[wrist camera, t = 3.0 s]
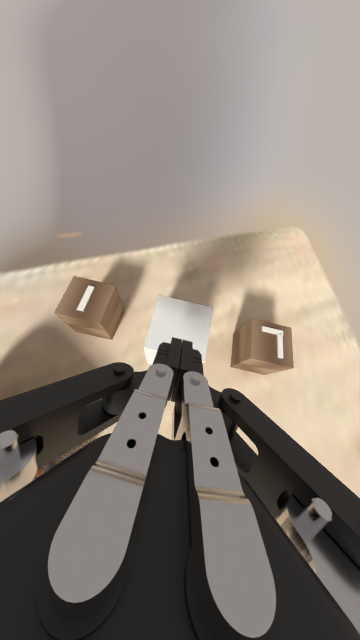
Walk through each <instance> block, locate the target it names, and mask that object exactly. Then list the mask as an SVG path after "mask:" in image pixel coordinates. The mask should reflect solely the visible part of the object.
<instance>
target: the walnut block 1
mask: <svg viewBox="0 0 360 640" xmlns="http://www.w3.org/2000/svg"><path fill="white" fill-rule="evenodd" d="M122 311H123V306H122V303H121V300H120V297H119V294H118V291H117V288H116V286H115V285H110V284H106V283H102V282H98V281H93V280H89V279H85V278H81V277H77V276H74V277H73V279H72V281H71V283H70V284H69V286H68V288H67V290H66V292H65V294H64V295H63V297H62V299H61V301H60V303H59V304H58V306H57V308H56V310H55V312H54V313H55V314H56V315H57V316H58V317H60V318H61V319H62V320H63V321H64V322H65V323H67V324H68V325H69V326H70V327H71V328H72V329H73V330H75V331H76V332H80V333H84V334H89V335H93V336H98V337H102V338H106V339H111V340H112V338H113V335H114V333H115V330H116V327H117V325H118V322H119V319H120V316H121V314H122Z"/></svg>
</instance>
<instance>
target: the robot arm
mask: <svg viewBox="0 0 360 640" xmlns="http://www.w3.org/2000/svg"><path fill="white" fill-rule="evenodd" d="M171 395H172V396H171ZM170 398H171V401H173V402H175V406H174V409H173V413H172V440H169V439H167V438H165V437H163V436H161V435H159V434H158V430H159V427H160V423H161V419H162V416H163V412H164V408H165V407H166V404H167V401H170ZM99 399H101V400H99ZM97 400H99V401H97ZM95 401H97V402H95ZM93 402H95V403H93ZM91 403H93V404H91ZM89 404H90V405H89ZM87 405H88V406H87ZM85 406H86V407H85ZM116 422H117V424H116V426H115V428H114V430H113V432H112V433H110V434H107V435H104V436H101V437H99V438H97V439H95V440H94V441H92V442H90V443H89V444H87V445H86V446H84V447H83V448H81V449H80V450H78V451H77V452H75V453H74V454H72V455H71V456H69V457H68V458H66V459H65V460H63V461H62V462H60V463H59V464H57V465H56V466H54V467H53V468H51V469H50V470H48V471H47V472H45V473H44V474H42V475H41V476H39V477H38V478H36V479H35V480H33V478H34V476H35V474H36V472H37V470H38V469H40V468H42V467H43V466H45V465H47V464H48V463H50V462H52V461H53V460H55V459H57V458H58V457H60V456H62V455H63V454H65V453H67V452H68V451H70V450H71V449H73V448H75V447H76V446H78V445H80V444H81V443H83V442H85V441H86V440H88V439H90V438H91V437H93V436H95V435H96V434H98V433H100V432H101V431H103V430H104V429H106V428H108V427H109V426H111V425H113V424H114V423H116ZM238 427H239V428H240V429H241V430H242V431H243V432H244V433H245V434H246V435H247V436H248V437H249V438H250V440H251V441H252V442H253V443H254V444H255V445H256V447H257V449H258V455H257V454H256V453H255V452H254V451H253V450H252V449H251V448H250V447H249V446H248V444H247V443H246V442H245V441H244V440H243V439H242V438H241V437H240V436H239V434H238V433H237V432H236V430H237V428H238ZM32 480H33V481H32ZM31 481H32V482H31ZM0 640H360V498H359V497H358V496H356V495H355V494H354V493H353V492H352V491H351V490H350V489H349V488H347V487H346V486H345V485H344V484H343V483H342V482H341V481H340V480H339V479H337V478H336V477H335V476H334V475H333V474H332V473H331V472H330V471H328V470H327V469H326V468H325V467H324V466H323V465H322V464H321V463H319V462H318V461H317V460H316V459H315V458H314V457H313V456H312V455H310V454H309V453H308V452H307V451H306V450H305V449H304V448H303V447H301V446H300V445H299V444H298V443H297V442H296V441H295V440H294V439H292V438H291V437H290V436H289V435H288V434H287V433H286V432H285V431H283V430H282V429H281V428H280V427H279V426H278V425H277V424H276V423H274V422H273V421H272V420H271V419H270V418H269V417H268V416H267V415H265V414H264V413H263V412H262V411H261V410H260V409H259V408H258V407H256V406H255V405H254V404H253V403H252V402H251V401H250V400H249V399H248V398H246V397H245V396H244V395H243V394H242V393H240V392H239V391H237V390H235V389H231V388H227V389H224V390H223V391H222V393H221V392H219V391H217V390H215V389H213V388H211V387H210V386H209V385H208V381H207V379H206V378H205V377H204V376H203V365H202V355H201V353H200V352H199V351H198V350H195V349H193V342H191V341H187V340H182V339H178V338H174V337H172V340H171V344H170V343H166V342H163V343H161V344H160V345H159V347H158V350H157V353H156V356H155V359H154V362H153V365H151V366H150V367H149V369H148V370H146V371H143V372H134V371H133V368H132V367H131V366H130V365H128V364H126V363H120V362H118V363H112V364H109V365H106V366H103V367H100V368H97V369H94V370H91V371H88V372H85V373H82V374H79V375H76V376H73V377H70V378H67V379H64V380H61V381H58V382H55V383H52V384H49V385H46V386H43V387H40V388H37V389H34V390H31V391H28V392H25V393H22V394H19V395H16V396H13V397H10V398H7V399H4V400H1V401H0Z"/></svg>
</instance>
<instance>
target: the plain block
mask: <svg viewBox="0 0 360 640" xmlns="http://www.w3.org/2000/svg"><path fill="white" fill-rule="evenodd" d="M211 315H212V307H208V306H204V305H200V304H196V303H191V302H187V301H183V300H179V299H175V298H171V297H166V296H162V295H159V296H158V300H157V303H156V307H155V310H154V314H153V317H152V321H151V324H150V327H149V331H148V334H147V338H146V341H145V345H144V351H145V356H146V361H147V363H150V364H153V362H154V359H155V356H156V353H157V350H158V347H159V345H160V344H161V343H163V342H166V343H170V344H171V340H172V337H174V338H178V339H182V340H187V341H191V342H193V349H195V350H198V351H199V352H200V353H201V355H202V363H204V362H205V358H206V351H207V344H208V337H209V329H210V322H211Z"/></svg>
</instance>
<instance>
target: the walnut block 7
mask: <svg viewBox="0 0 360 640" xmlns="http://www.w3.org/2000/svg"><path fill="white" fill-rule="evenodd" d="M231 367H233V368H237V369H242V370H246V371H250V372H255V373H259V374H263V375H266V374H270V373H275V372H279V371H283V370H288V369H292V368H294V366H293V350H292V334H291V328H290V327H286V326H282V325H278V324H273V323H269V322H265V321H261V320H257V319H251V320H250V321H249V322H247V323H246V324H245V325H244V326H243V327H241V328H240V329H239V330H238V331H237V332H235V333H234V334H233V345H232V357H231Z"/></svg>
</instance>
